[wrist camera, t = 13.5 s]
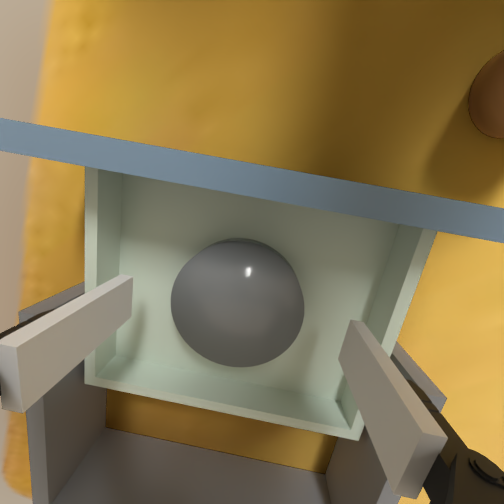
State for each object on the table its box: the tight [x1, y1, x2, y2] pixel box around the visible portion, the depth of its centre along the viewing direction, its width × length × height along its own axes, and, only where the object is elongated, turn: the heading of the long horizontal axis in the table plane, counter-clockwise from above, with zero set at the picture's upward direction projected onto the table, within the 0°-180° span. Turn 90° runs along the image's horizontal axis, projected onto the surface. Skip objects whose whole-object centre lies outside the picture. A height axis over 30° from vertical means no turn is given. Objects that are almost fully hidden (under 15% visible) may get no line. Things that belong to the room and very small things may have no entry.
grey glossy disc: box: [171, 238, 305, 367], centre depth 16 cm, size 9×9×2 cm
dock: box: [19, 281, 447, 504], centre depth 18 cm, size 16×24×6 cm
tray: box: [0, 118, 504, 441], centre depth 15 cm, size 17×24×6 cm
